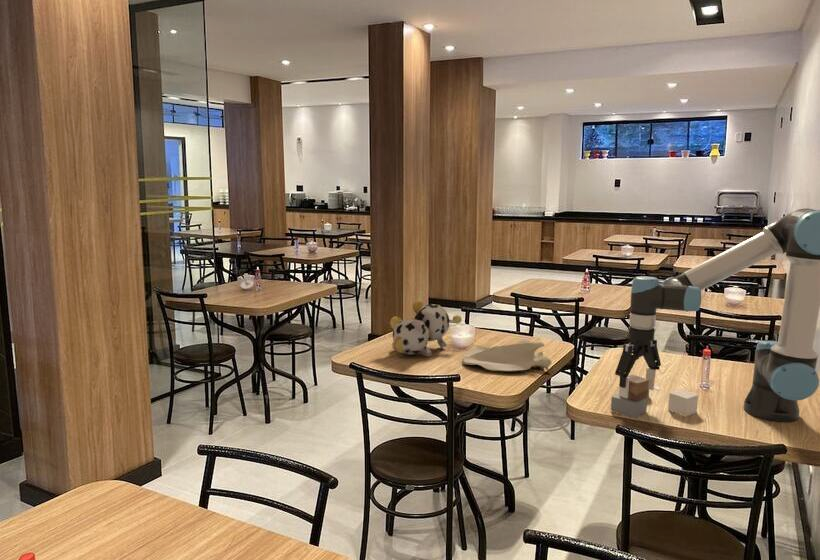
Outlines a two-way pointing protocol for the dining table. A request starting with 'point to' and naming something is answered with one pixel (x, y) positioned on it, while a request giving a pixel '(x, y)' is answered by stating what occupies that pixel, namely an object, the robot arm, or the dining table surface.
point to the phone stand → (656, 388)
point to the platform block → (628, 406)
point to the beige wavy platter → (508, 357)
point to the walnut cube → (637, 388)
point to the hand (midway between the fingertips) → (636, 392)
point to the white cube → (683, 402)
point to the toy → (421, 329)
